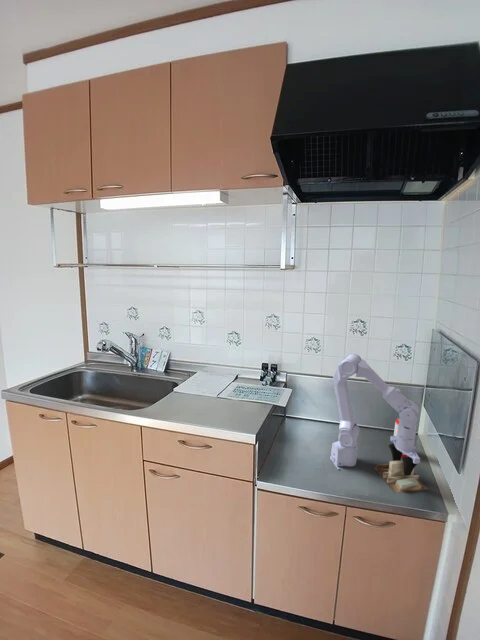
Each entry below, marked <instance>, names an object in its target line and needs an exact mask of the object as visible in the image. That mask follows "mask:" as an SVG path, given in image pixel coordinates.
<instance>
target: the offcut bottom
mask: <svg viewBox="0 0 480 640" xmlns="http://www.w3.org/2000/svg"><path fill="white" fill-rule="evenodd" d="M395 485H396V487H397V488H398V489H399V490H400V491H405V490H417V489H421V485H420V484H419V483H418V485H416V486H411V487H406V488H401V487H400V486H399V485H397V484H396V482H395Z"/></svg>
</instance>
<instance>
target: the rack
mask: <svg viewBox="0 0 480 640" xmlns="http://www.w3.org/2000/svg"><path fill="white" fill-rule="evenodd" d="M373 469H374V470H375V471H376V473H377V474H378V475H379V476H380V477H381V478H382V480H383V481H384V482H385V483H386V484H387V486H388V487H389V488H390V489H391V490H392V492H393V493H405V492H406V493H407V492H415V491H429V488H428V487H427V486H426V485H424V483H423V482H422V481H420V479H419V478H420V475H419V474H413V475H410V476H394V477H388V471H389V463H382V464H380V463H379V464H376V466H373ZM412 477H413V478H414V479H415V480H417V481H418V483H419V484H420V485H421V489H417V490H405V491H400V490H399V489H398V488H397V487H396V485H395V482H397V480H402V479H407V478H412Z"/></svg>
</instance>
